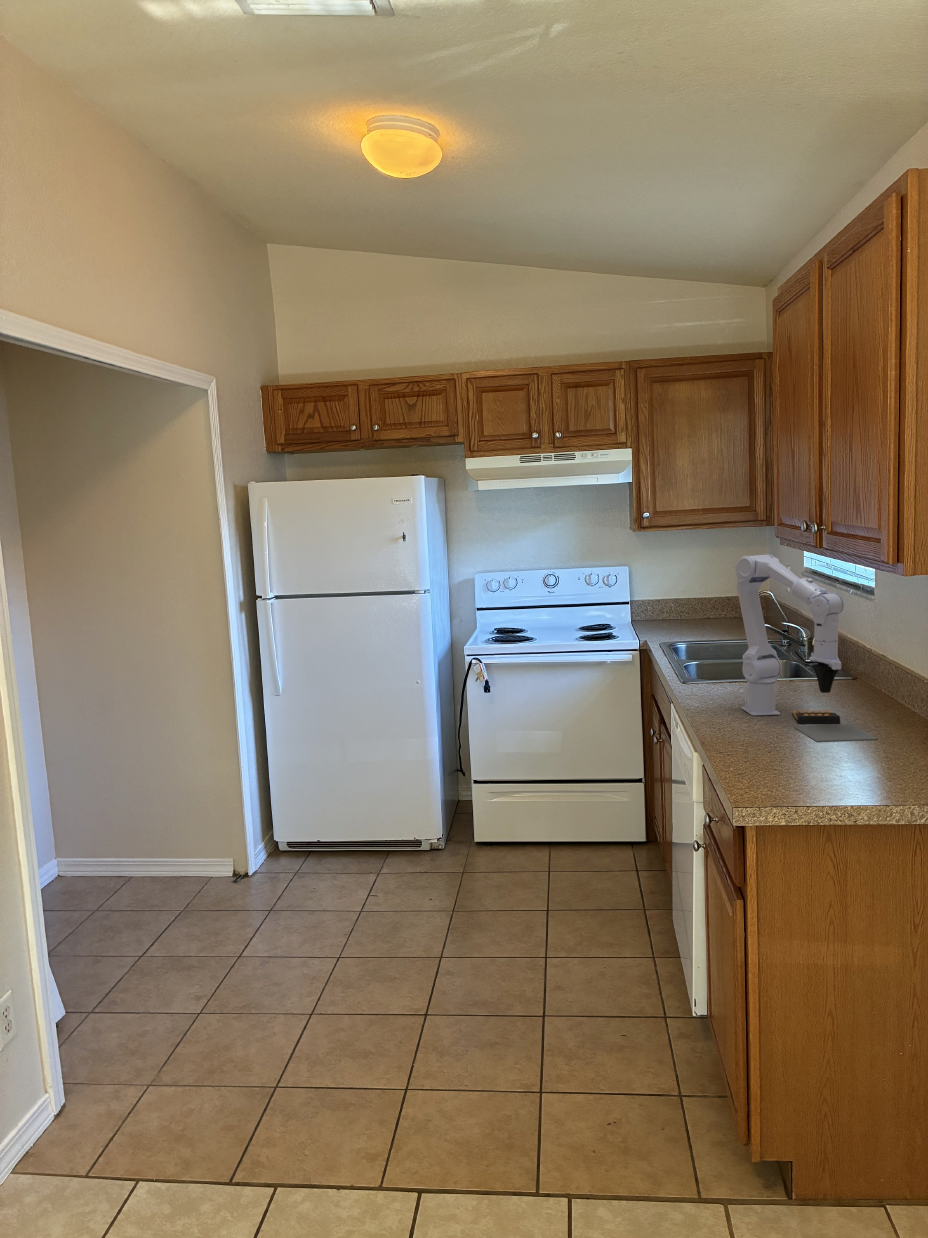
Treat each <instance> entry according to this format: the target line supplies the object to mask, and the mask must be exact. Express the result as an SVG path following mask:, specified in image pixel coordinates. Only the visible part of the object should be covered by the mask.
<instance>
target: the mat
mask: <svg viewBox="0 0 928 1238" xmlns="http://www.w3.org/2000/svg"><path fill="white" fill-rule="evenodd" d="M793 728H794V729H796V731H799V732H800V733H802V734H804V736H807V737H808V738H809V739H811V740H813V741H814V742H816V743H827V742H828V743H830V742H831V743H832V742H833V743H835V742H855V741H858V742H860V741H878V738H877V737H875V736H873V735H871V734H869V733H867V731H864V730H862V729H860V728H858V727H857V726H855V725H853V724H851V723H848V724H821V725H820V724H819V725H818V724H816V725H794V726H793Z"/></svg>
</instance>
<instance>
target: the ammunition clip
mask: <svg viewBox="0 0 928 1238" xmlns="http://www.w3.org/2000/svg"><path fill="white" fill-rule="evenodd" d="M791 714H792V716H793V717H794V720H795V721H796V722H797V724H841V716H840V715H838V714H837V713H836V712H832V711H831V710H828V709H827V710H825V711H824V710H820V709H819V710H817V711H816V710H815V709H814V710H812V711H810V710H808V709H807V710H805V711H804V710H801V709H800V710H798V711H796V710H791Z"/></svg>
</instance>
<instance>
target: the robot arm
mask: <svg viewBox="0 0 928 1238" xmlns="http://www.w3.org/2000/svg"><path fill="white" fill-rule="evenodd" d="M734 568H735V573H736V590H737V596H738V601H739V605H740V611H741V617H742V620H743V626H744V631H745V637H746V641H747V642H746V643H747V647H748V648H747V650H746V651H745V652H744V653H743V655H742V658H741V659H742V667H741V668H742V674H743V676H744V678H745V680H746V682H747V683H746V684H745V686H744V694H745V696H744V706H741V709H743V710H744V711H745V712H746V713H748V714H750V715H751V716H772V715H773V716H776V715H779V716H780V715H781V712H779V710H776V682H777V681H778V678H779V677H780V676H781V675H782V670H783V666H782V665H783V664H782V662H781V661H780V659H779V656H778V653H777V650H775V649H774V648H773V647H772V646H770V644H769V641H768V634H767V629H766V624H765V619H764V613H763V610H762V603H761V598H760V594H759V589H760V588H761V587H762V585H763V584H764V583H766V582H767V581H768V580H769V579H771V578H772V579H774V580H776V581H778V582H779V583H780V584H782V585H784V586H786V587H788V588H789V589H791V593H792V596H793V597H794V598H796V599H797V600H799V602H801V603H803V604H805V605H806V606H807V607H809V611H810V613H811V614H812V621H813V623H814V627H813V628H814V629H813V632H814V633H813V637H814V639H813V652H811V653H810V656H809V659H808V660H810V661H813V662H817V664H811V668H812V670H813V671H814V674H815V676H816V680H817V684H818V689H819V692H820V693H822V694H824V693H825V694H827V693H831V690H832V687H833V683H834V681H835V677H836V676H837V674H838V672H839V671H840V670H842V661H840V658H839V653H838V651H839V649H838V648H839V647H838V646H839V619H840V618H839V616H840V614H841V613H842V612H843V610H844V608H845V603H844V599H843V598H842V596H841V595H840V594H839V593H838V592H833V591H832V592H829V591H828V590H827V589H826V588H825V587H821V586H819V585H818V584H817V583H815V582H814V581H815V580H814V579H813V578H811V577H808V578H807V577H803V578H800V577H798V576H797V575H796V574H795V573H794V572H792V571H791V570H790V569H789V568H787V567H786V566H785V565H783V564H782V563H781V562H780V559H779V558H777V557H774V555H773V554H770V553H766V554H759V555H743V556H741V557H740V558H739V559H738V560H737V563H736V565H735V566H734Z"/></svg>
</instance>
